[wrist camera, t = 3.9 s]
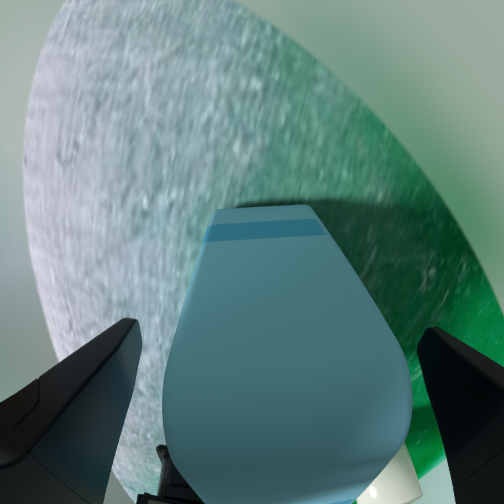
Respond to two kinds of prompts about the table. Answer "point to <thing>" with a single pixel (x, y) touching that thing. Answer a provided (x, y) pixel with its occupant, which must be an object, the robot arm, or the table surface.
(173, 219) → the table surface
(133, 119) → the table surface
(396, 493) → the white rounded cylinder
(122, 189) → the table surface
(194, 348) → the light blue rounded block
